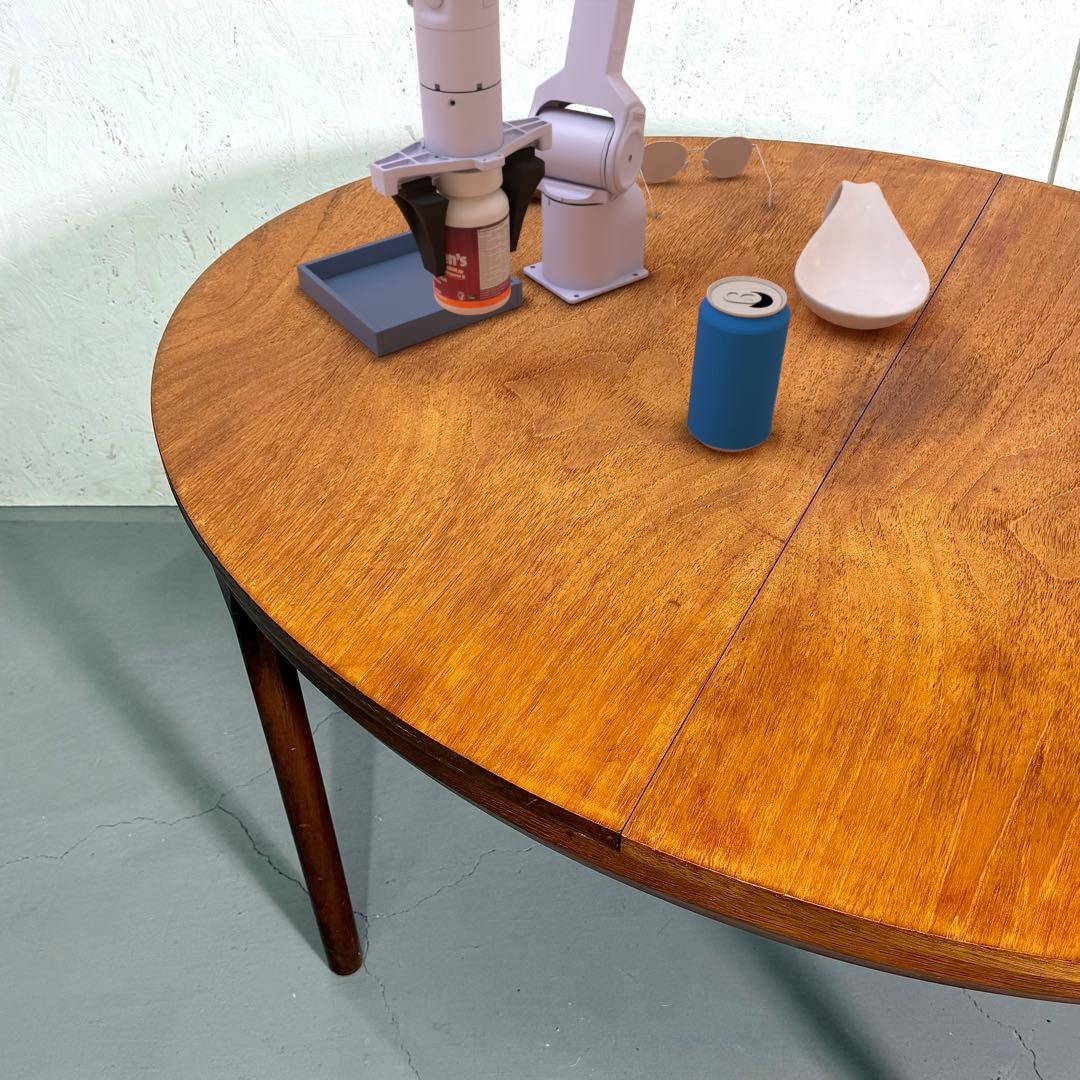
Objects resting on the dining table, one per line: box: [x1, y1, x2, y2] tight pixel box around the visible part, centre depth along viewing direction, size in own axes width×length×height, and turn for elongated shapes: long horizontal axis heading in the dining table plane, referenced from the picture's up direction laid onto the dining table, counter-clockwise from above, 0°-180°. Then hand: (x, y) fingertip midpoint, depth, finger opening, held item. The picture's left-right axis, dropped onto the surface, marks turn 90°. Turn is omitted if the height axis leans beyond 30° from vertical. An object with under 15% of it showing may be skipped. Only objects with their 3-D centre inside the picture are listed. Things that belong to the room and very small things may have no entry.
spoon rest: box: [793, 179, 931, 330], centre depth 98 cm, size 24×12×7 cm, turn 172°
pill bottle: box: [432, 167, 511, 315], centre depth 81 cm, size 6×6×11 cm
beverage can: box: [686, 275, 791, 453], centre depth 79 cm, size 6×6×12 cm
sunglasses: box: [639, 135, 773, 217], centre depth 114 cm, size 14×8×5 cm, turn 99°
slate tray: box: [295, 230, 524, 358], centre depth 99 cm, size 15×15×2 cm
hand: (470, 259), depth 83 cm, fingers closed on pill bottle, 6 cm apart
